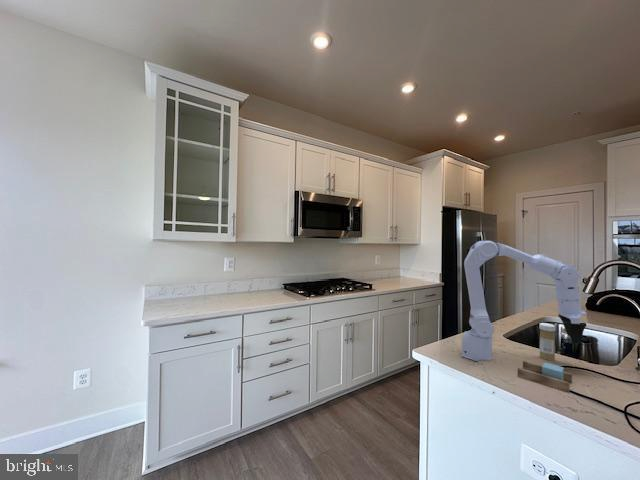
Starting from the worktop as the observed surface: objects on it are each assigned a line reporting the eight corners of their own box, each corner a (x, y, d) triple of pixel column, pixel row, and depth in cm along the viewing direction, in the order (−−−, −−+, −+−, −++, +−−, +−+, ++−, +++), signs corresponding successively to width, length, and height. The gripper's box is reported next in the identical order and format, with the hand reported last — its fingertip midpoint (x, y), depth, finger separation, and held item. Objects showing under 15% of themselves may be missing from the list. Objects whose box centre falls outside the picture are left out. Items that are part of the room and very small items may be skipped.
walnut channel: (517, 379, 85) (517, 368, 85) (523, 371, 91) (523, 360, 91) (568, 395, 77) (568, 383, 77) (571, 385, 82) (572, 373, 82)
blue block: (541, 381, 82) (542, 366, 82) (544, 376, 86) (544, 362, 86) (561, 387, 79) (561, 372, 79) (563, 382, 82) (563, 367, 82)
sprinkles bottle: (557, 361, 99) (557, 324, 99) (552, 364, 96) (552, 327, 96) (541, 356, 103) (541, 321, 103) (537, 359, 100) (537, 323, 100)
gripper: (590, 304, 84) (596, 348, 83) (579, 295, 96) (585, 333, 95) (560, 303, 88) (566, 345, 87) (553, 295, 100) (558, 332, 99)
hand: (574, 339), depth 92 cm, fingers open, 7 cm apart
